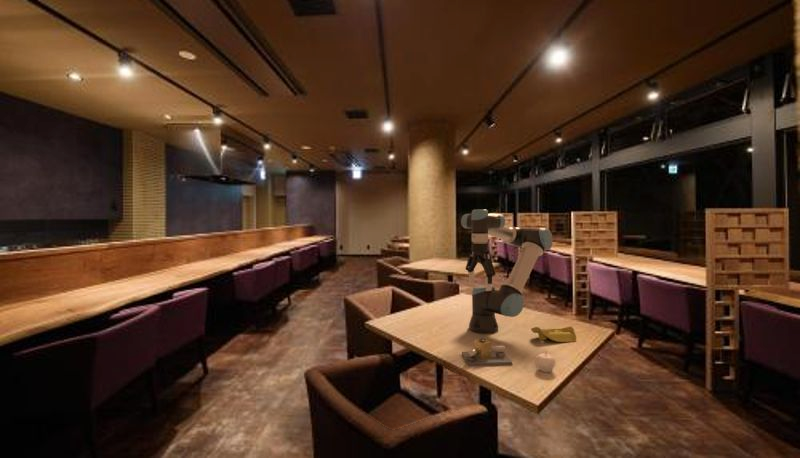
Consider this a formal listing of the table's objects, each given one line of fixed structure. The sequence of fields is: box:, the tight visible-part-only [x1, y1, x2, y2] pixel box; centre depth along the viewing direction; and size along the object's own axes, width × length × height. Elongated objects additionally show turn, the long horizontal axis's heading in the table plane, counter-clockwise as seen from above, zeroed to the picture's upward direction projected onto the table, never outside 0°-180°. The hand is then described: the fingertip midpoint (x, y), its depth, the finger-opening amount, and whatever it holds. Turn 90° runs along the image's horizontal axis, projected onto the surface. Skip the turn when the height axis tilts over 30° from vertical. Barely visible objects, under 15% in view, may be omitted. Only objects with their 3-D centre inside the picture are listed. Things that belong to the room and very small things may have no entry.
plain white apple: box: [535, 349, 556, 373], centre depth 142 cm, size 7×7×8 cm
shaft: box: [466, 348, 480, 362], centre depth 150 cm, size 5×4×4 cm
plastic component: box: [530, 325, 577, 343], centre depth 177 cm, size 20×7×10 cm
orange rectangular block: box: [473, 338, 492, 359], centre depth 153 cm, size 5×5×7 cm
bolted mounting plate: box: [461, 345, 513, 367], centre depth 153 cm, size 18×12×5 cm, turn 93°
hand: (479, 288), depth 170 cm, fingers open, 13 cm apart
